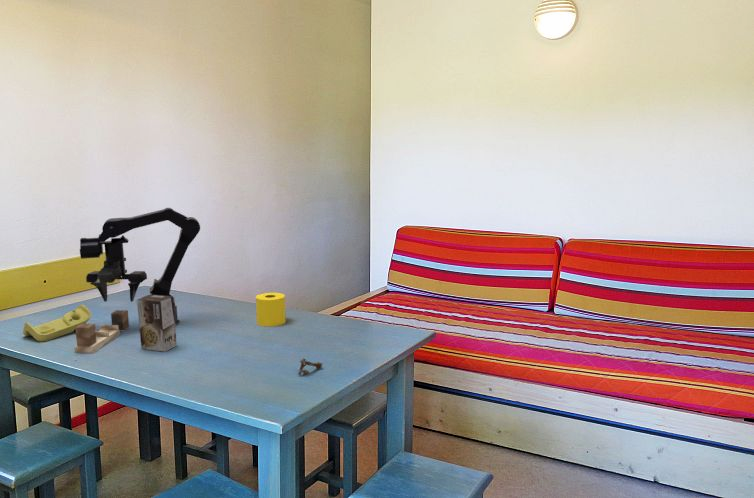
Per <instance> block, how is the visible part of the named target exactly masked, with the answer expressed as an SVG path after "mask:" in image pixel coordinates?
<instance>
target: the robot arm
mask: <svg viewBox="0 0 754 498" xmlns="http://www.w3.org/2000/svg"><path fill="white" fill-rule="evenodd" d="M166 221H169V222H170V223H172V224H173V225H175V226H176V227H179V228H180V231H179V234H178V235H179V236H178V240H177V243H176V244H175V247H174V249H173V250H172V251H173V252H172V254H171V256H170V257H169V260H168V262H167V264H166V266H165V269H164V270H163V273H162V275H161V277H159V279H157V278H154V280H153V284H152V285H151V287H149V293H150V295H163V296H172V294H170V293H171V287H172V284H173V281H174V278H175V277H176V274H177V272H178V269H179V268H180V265H181V263H182V260H183V258H184V257H185V254H186V252H187V250H188V247H189V246H190V245H191V243H192V242H193V241H194V240H195V239H196V237H197V236H198V234H199V232H200V231H201V224H200V222H199V221H198V219H197V218H196V217H193V216H186V215H184V214H182V213H180V212H178V211H176V210H174V209H173V208H171V207H165V208H162V209H159V210H155V211H151V212H147V213H143V214H139V215H135V216H131V217H115V218H114V217H113V218H108V219H107V220H105V222H104V223H103V225H102V232H101V233H100V234H98V237H88V238H87V237H82V238H79V239H80V240H79V241H80V244H79V245H80V248H79V254H80V255H79V256H80V258H81V259H82V260H84V259H98V258H100V257H101V256H102V255H104V253H105V260H104V261H103V267H102V268H101V269H99V270H94V271H91V272H89V273H87V274H86V276H85V280H86V283H90V285H91V286H92V285H93V286H94V287H95V288H96V289H97V290H98V292H99V294H100V296H101V298H102V299H103V301H104V302H108V284H111V283H114V282H115V280H128V282H129V283H127V285H128V286H129V299H130V303H131V302H133V301H134V300H135V297H136V294H137V290H138V288H139V287H140V284H141V283H143V282H144V281H145V280H147V279H148V277H147V276H148V275H147V272H145V270H144V271H143V270H140V271H139V270H136V271H135V270H134V271H132V272H130V273H128V269H126V266H125V265H126V264H125V262H126V261H127V258H126V257H125V253H124V251H125V250H124V244H127V243H129V242H130V241H129V239H128V238H127V237H125V235H124V234H125V233H126V234H127V232H128V233H129V232H130V231H132V230H135V229H138V228H142V227H146V226H150V225H154V224H158V223H162V222H166ZM119 236H121V237H119ZM110 238H111V239H110ZM109 239H110V240H109ZM103 246H104V247H103ZM173 302H174V316H175V325H177V324H178V323H179V322H180V319H178V307H177V305H176V302H175V297H174V296H173Z"/></svg>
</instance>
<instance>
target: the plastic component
mask: <svg viewBox="0 0 754 498" xmlns="http://www.w3.org/2000/svg"><path fill="white" fill-rule="evenodd" d="M91 317H92V312H91V310H90V309H89V308H88V307H86V305H84V304H79V305H78V306H77V307H76V308H75V309H73V310H71V311H68V312H67V313H65V314H64V315H63V317H60V318H57V319H54V320H50V321H47V322H45V323H42V324H40V325H36V326H33V325H32V324H31V323H30V322H25V323H24V325H23V330H22V334H23V335H24V336H25V337H31V336H32V337H33V338H34V339H35V340H36V341H37V342H39V343H40V342H47V341H51V340H53V339H56V338H59V337H62V336H65V335H67V334H71V333H74V331H75V330H76V329H75V327H77V326H79V325H81V324H87V322H89V320H90V319H91Z"/></svg>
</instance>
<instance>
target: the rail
mask: <svg viewBox="0 0 754 498" xmlns="http://www.w3.org/2000/svg"><path fill="white" fill-rule="evenodd" d="M74 330H75V340H76V345H74V346H73V349H74V353H79V354H80V353H82V354H87V353H88V354H94V353H95V352H98V350H100V349H101V348H103V347H105V346H106V345H108V344H109V343H110V342H112V341H114V340H115V339H116V338H118V337H119V336H121V335H120V331H119V325H112V324H100V325H99V330H98V331H96V323H85V324H81V325H79V326H77V327H75V329H74Z"/></svg>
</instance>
